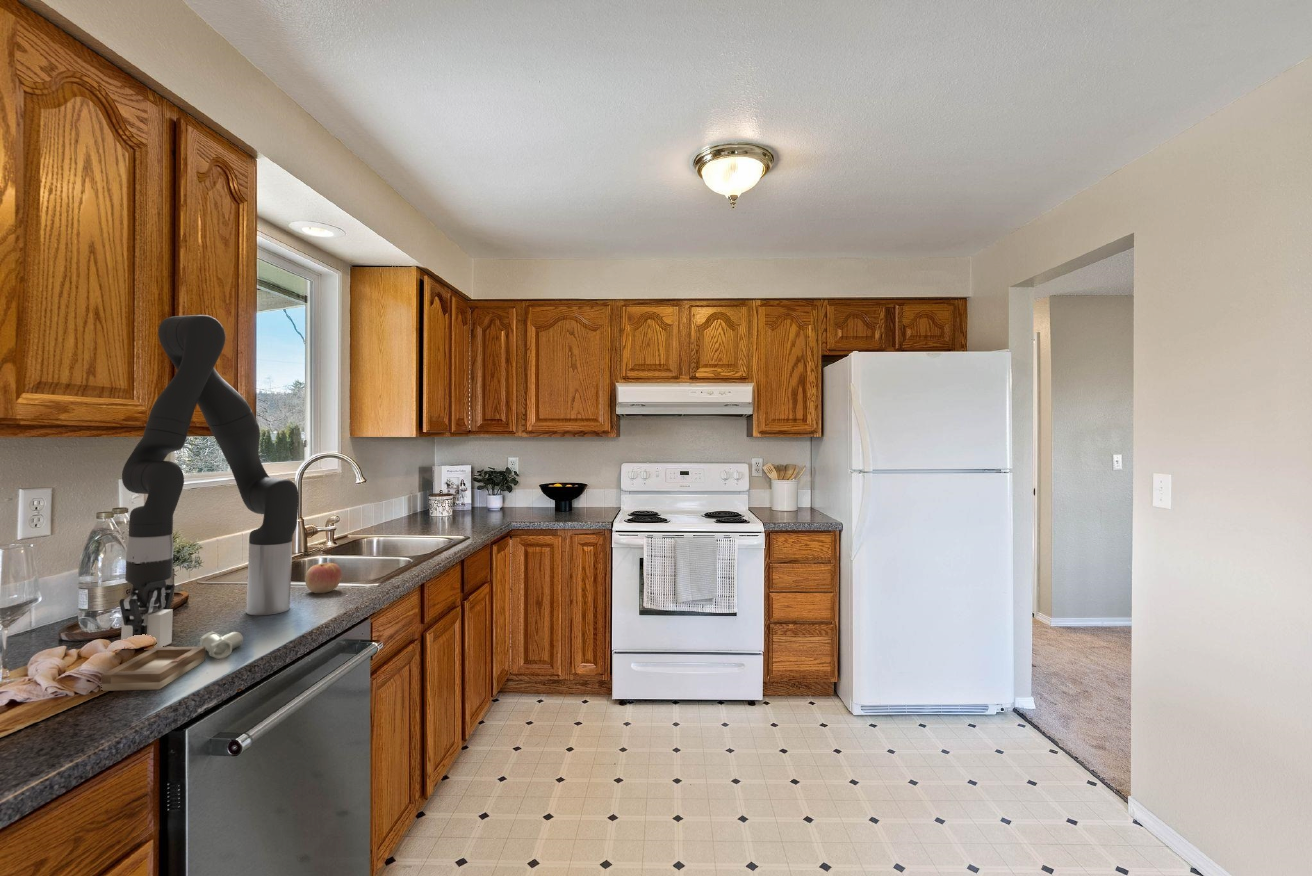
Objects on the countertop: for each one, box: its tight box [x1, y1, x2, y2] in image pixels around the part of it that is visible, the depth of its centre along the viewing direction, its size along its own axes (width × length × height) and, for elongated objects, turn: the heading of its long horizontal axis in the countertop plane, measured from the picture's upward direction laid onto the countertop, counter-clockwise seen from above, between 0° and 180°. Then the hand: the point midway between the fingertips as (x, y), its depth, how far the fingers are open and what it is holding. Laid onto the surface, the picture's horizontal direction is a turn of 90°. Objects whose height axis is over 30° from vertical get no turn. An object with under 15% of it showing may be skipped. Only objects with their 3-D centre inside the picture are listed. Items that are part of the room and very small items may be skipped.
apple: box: [305, 562, 343, 594], centre depth 174 cm, size 9×9×8 cm
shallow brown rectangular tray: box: [100, 646, 206, 692], centre depth 113 cm, size 14×9×3 cm, turn 9°
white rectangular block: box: [120, 606, 174, 647], centre depth 127 cm, size 4×7×8 cm, turn 99°
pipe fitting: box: [199, 630, 244, 660], centre depth 125 cm, size 8×4×7 cm
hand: (146, 639), depth 127 cm, fingers closed on white rectangular block, 4 cm apart
